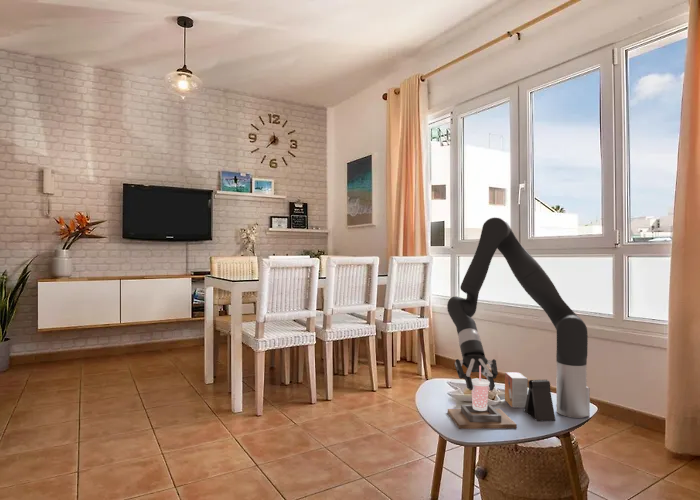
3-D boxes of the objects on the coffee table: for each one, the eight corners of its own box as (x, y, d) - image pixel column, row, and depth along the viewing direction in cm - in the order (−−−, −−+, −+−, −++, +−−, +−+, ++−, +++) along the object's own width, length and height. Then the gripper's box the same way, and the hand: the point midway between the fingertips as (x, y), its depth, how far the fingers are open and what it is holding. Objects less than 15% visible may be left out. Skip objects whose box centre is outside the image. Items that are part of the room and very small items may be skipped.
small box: (504, 400, 162) (504, 371, 162) (519, 400, 162) (519, 372, 162) (511, 407, 154) (511, 377, 154) (527, 408, 154) (527, 378, 154)
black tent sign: (555, 421, 142) (555, 384, 142) (537, 421, 141) (537, 384, 142) (541, 411, 151) (541, 376, 151) (524, 411, 150) (524, 376, 151)
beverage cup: (471, 404, 147) (472, 362, 147) (490, 406, 144) (491, 364, 144) (468, 410, 141) (468, 366, 141) (488, 413, 139) (488, 369, 139)
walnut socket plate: (499, 412, 150) (499, 402, 150) (516, 428, 136) (516, 417, 136) (447, 412, 149) (447, 403, 149) (459, 428, 135) (459, 418, 135)
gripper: (452, 338, 150) (462, 383, 138) (493, 338, 151) (507, 383, 139) (448, 350, 155) (457, 395, 143) (488, 350, 156) (500, 394, 144)
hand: (481, 389), depth 141 cm, fingers closed on beverage cup, 6 cm apart
